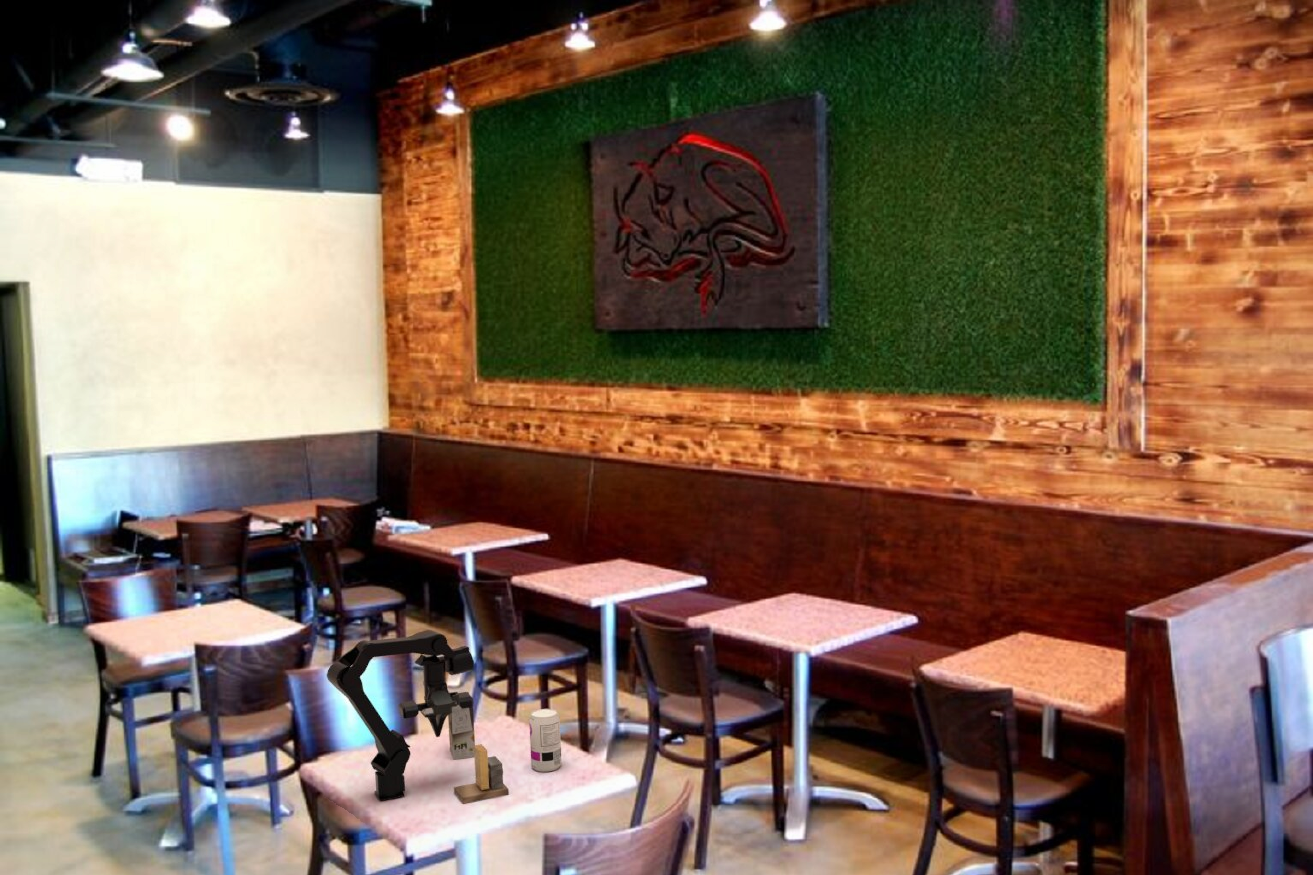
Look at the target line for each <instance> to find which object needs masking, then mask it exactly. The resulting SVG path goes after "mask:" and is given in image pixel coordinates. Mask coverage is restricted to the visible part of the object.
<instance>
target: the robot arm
mask: <svg viewBox="0 0 1313 875" xmlns="http://www.w3.org/2000/svg"><path fill="white" fill-rule="evenodd" d="M405 654H406V655H407V654H419V656H418V658H416V659H415V661H414V664H416V665H418V666H420V667H422V670H423V681H422V683H423V691H424V695H423V700H424V702H422V703H421V702H420V703H416V702H415V700H408V701H401V702H400V703H399V704H398V714H399V715H400V716H401V717H402V719H411V718H416V717H417V716H418V715H419V713H421V715H422V716H423V717H424V718H426V719H428V721H429V723H430V726H431V728H432V730H433V732H434V735H435V737H436V738H440V736H441V734H442V730H443V727H444V724H445V722H446V719H447V718H448V715H449V714H451V713H452V707H455V706H457V705H459V706H460V707H461V708H462V709H464V708H470V707H473V708H474V706H475V705H474V697H472V696H471V694H470V693H469V694H470V695H469V694H468V693H467V692H468V691H463V692H462V691H461V692H458V691H453V692H449V690H448V683H447V673H448V675H450V676H455V675H458V674H459V675H460V674H464V673H468V672H471V671H473V670H474V667H475V660H474V659H473V656H472V653H471V651H470V647H469V646H466V645H461V646H460V647H457V648H456V647H455V648H451V646H450V645H449V644H448V639H447V637H446V636H445V635H444V634H443V633H439V632H437V631H435V630H432V629H426V630H423V631H419V632H416V633H414V634H412V635H409V636H403V637H394V638H384V639H383V638H382V639H372V640H366V639H363V640H360V641H358V642H357V644H356V645H354V647H353V648H352V649H350V650H348V651H347V652H346V653H344V654H343V655H342V656H341V657H340V658H339V659H338V660H337V661H336V662H334V663H332V664H331V665H330V666H329V668H328V669H327V673H326V678H327V680H328V682H329V683H330V684H331V685H332V686H333V687H334V688H336V690H337V691H338V692H340V693H341V694H342V695H343V696H345V697H346V698H347V700H348V702H349V703H350V704H351V706H352V707H353V708H354V710H355V711H356V713H357V715H358V716H359V718H360V719H361V721H362V722H363V724H364V725H365V726H366V728H367V730H368V731H369V732H370V734H371V735H372V737H373V738H374V742H375V748H376V750H377V753H376V755H375V756H374V757H373V759H372V760H371V761H370V765H371V767H372V769H373V771H374V775H375V777H374V778H375V790H374V794H375V795H376V798H377V799H378V801H379V802H382V801H383V802H384V801H387V800H393V799H397V798H403V797H405V795H406V794H405V791H406V785H405V783H406V781H405V775H404V773H405V771H406V767H407V763H408V762H409V759H410V757H411V751H410V749H409V748H411V745H410V744H408V743H407V742H406V739H405V737H404V735H403V734H401V733H400V732H398V731H396V730H394V729H391V730H390V728H388V725H387V724H386V723H385V721H384V719H383V718H382V717H381V715H380V714H379V712H378V711H377V709H376V707H375V706H374V705H373V702H372V701H371V700H370V699H369V697H368V696H367V694H366V693H365V691H364V687H363V686H364V685H363V681H362V679H361V676H362V675H364V674H365V672H366V670H367V668H368V666H369V664H370V662H371V661H372V660H373V659H374V658H378V657H379V658H380V657H388V656H389V657H390V656H398V655H405Z"/></svg>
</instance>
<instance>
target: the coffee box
mask: <svg viewBox="0 0 1313 875" xmlns="http://www.w3.org/2000/svg"><path fill="white" fill-rule="evenodd" d="M466 692H467V693H468V694H469V695H470V696H471V694H470V693H469V691H466ZM474 715H475V713H474V706H473V707H470V708H464V709H462V708H461V707H460V706H459V705H457V706H455V707H452V713H451V714H449V715H448V716H447V720H448V737H449V740H448V742H449V751H450V753H451V754H450V755H451V757H452V759H453V760H460V759H465V758H473V757H474V746H475V745H476V740H475V739H476V738H475V736H476V735H475V718H474V717H475V716H474ZM474 758H475V757H474Z"/></svg>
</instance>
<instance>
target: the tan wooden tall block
mask: <svg viewBox="0 0 1313 875" xmlns="http://www.w3.org/2000/svg"><path fill="white" fill-rule="evenodd" d="M488 756H489V755H488V749H486V747H485V746H484V745H483V744H475V746H474V771H475V772H474V773H475V774H474V776H475V783H476V784H477V786H478V787H479V788H480V789H481V790H485V789H489V778H490V769H489V768H488Z"/></svg>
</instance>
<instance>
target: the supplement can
mask: <svg viewBox="0 0 1313 875" xmlns="http://www.w3.org/2000/svg"><path fill="white" fill-rule="evenodd" d="M528 720H529V723H528V724H529V742H530V743H529V744H530V745H529V746H530V747H529V748H530V766H531V768H532V769H533V770H535V771H536V772H541V773H544V772H545V773H546V772H547V773H548V772H553V771H556V770H559V768H560V767H561V765H562V744H561V723H560V722H561V720H560V715H559V713H558V711H557V710H555V709H551V708H541V709H536V710H533V711H532V712H531V713H530V716H529V719H528Z"/></svg>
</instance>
